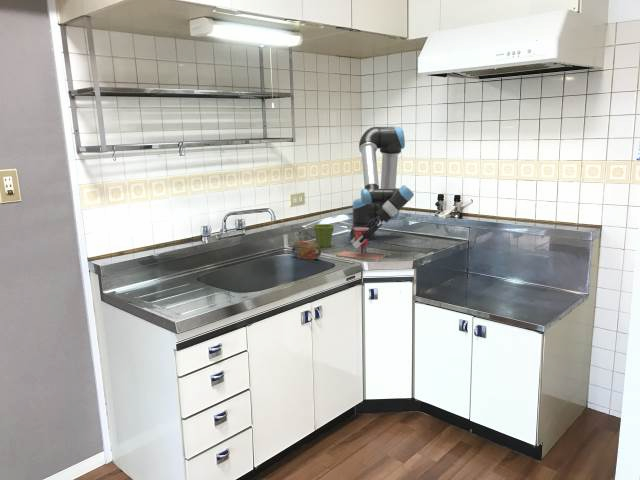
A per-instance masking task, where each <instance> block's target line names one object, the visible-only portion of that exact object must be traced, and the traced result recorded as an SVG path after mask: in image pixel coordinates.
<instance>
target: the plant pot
mask: <svg viewBox="0 0 640 480" xmlns="http://www.w3.org/2000/svg"><path fill="white" fill-rule="evenodd" d="M312 227H313V231H314V235H315V243H317V244H319V245H320V247H321V248H330V247H331V243H332V238H333V232H334V229H335V225H334V224H327V223H325V224H324V223H319V224H313V225H312Z"/></svg>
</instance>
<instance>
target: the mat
mask: <svg viewBox="0 0 640 480" xmlns="http://www.w3.org/2000/svg"><path fill="white" fill-rule="evenodd" d="M384 256H385V255H377V254H367V253H356V252H347V250H344V251H342V252H339V253H338V254H336V255H335V257H338V258H339V257H340V258H347V259H348V258H350V259H359V260H366V259H370V260H369V261H375V260H378V261H380V260H382V259H383V258H384ZM382 257H383V258H382ZM385 257H386V256H385ZM381 258H382V259H381ZM371 259H372V260H371ZM379 259H380V260H379Z"/></svg>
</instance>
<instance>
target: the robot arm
mask: <svg viewBox="0 0 640 480" xmlns="http://www.w3.org/2000/svg"><path fill="white" fill-rule="evenodd" d="M405 145H406V140H405V133H404V129H403V128H402V127H401V126H393V125H392V126H373V127H370V128H367V130H366V131H364V132H363V134H362V136H361V137H360V139H359V143H358V147H359V148H358V150H359V152H360V153H361V163H362V165H361V166H362V174H363V175H362V176H363V177H362V178H363V187H364V188H362V189H361V190H360V198H356V199H355V200H354V201H353V202H352V226H351V229H350V231H349V239H351V241H350V243H351V244H352V246H353V247H354V248H355V250H356V249H357V248H358V247H359V246H360V245H361V244H362V243H363V242H364V241H365V240H366V239H369V240H368V241H371V240H375V239H376V232H377V231H378V229H380V228H381V226H383V221H384V222H385V223H386V224H387V223H388V222H390V221H395V220H397V219H398V217H399V214H400V210H402V208H404V206H405V205H407V203H408V202H410V201H411V200H412V198H413V197H414V196H415V194H414V192H413V191H412V190H411V189H410V188H409V187H408V186H407V185H405V184H403V185H401V186H400V187H399V188H397V174H398V163H399V162H398V159H399V155H400V154H401V153H402V150H403V149H405ZM378 149H379V152H380V154H381V155H382V157H381V171H380V172H381V173H380V175H381V176H380V182H379V173H378V161H377V153H376V152H377V150H378ZM354 227H367V228H369V229H368V230H367V231H366V232H365V234H362V236H361V237H360V238H359V239H358V240H357V241H356V242H355V236H354V229H352V228H354Z"/></svg>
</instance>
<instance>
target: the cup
mask: <svg viewBox="0 0 640 480" xmlns="http://www.w3.org/2000/svg"><path fill="white" fill-rule="evenodd" d="M351 228H352V227H351ZM352 229H354V236H355V242H356V241H357V240H358V239H359V238H360V237H361V236H362V234H365V232H366V231H367V230H368V229H369V228H367V227H354V228H352ZM369 241H370V240H369V239H366V240H365V241H364V242H363V243H362V244H361V245H360V246H359V247H358V248H357V249H356V248H355V251H356V253H367V252H368V247H369Z"/></svg>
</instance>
